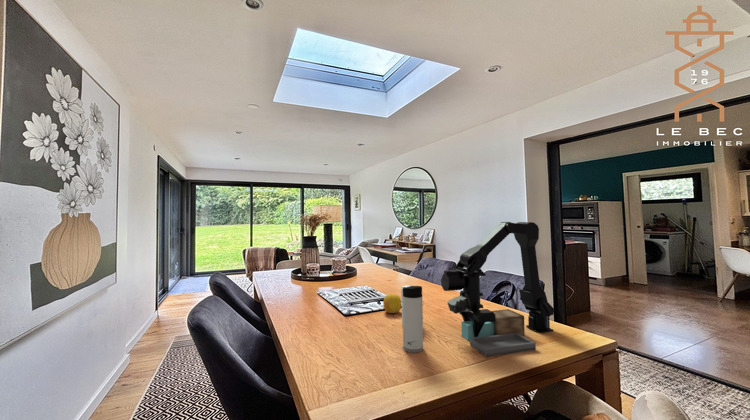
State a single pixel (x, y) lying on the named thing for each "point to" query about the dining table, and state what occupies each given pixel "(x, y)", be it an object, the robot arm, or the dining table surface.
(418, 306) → the travel mug
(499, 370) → the dining table surface
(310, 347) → the dining table surface
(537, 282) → the robot arm
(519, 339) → the tray
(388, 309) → the fruit
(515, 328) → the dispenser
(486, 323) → the teal long block
